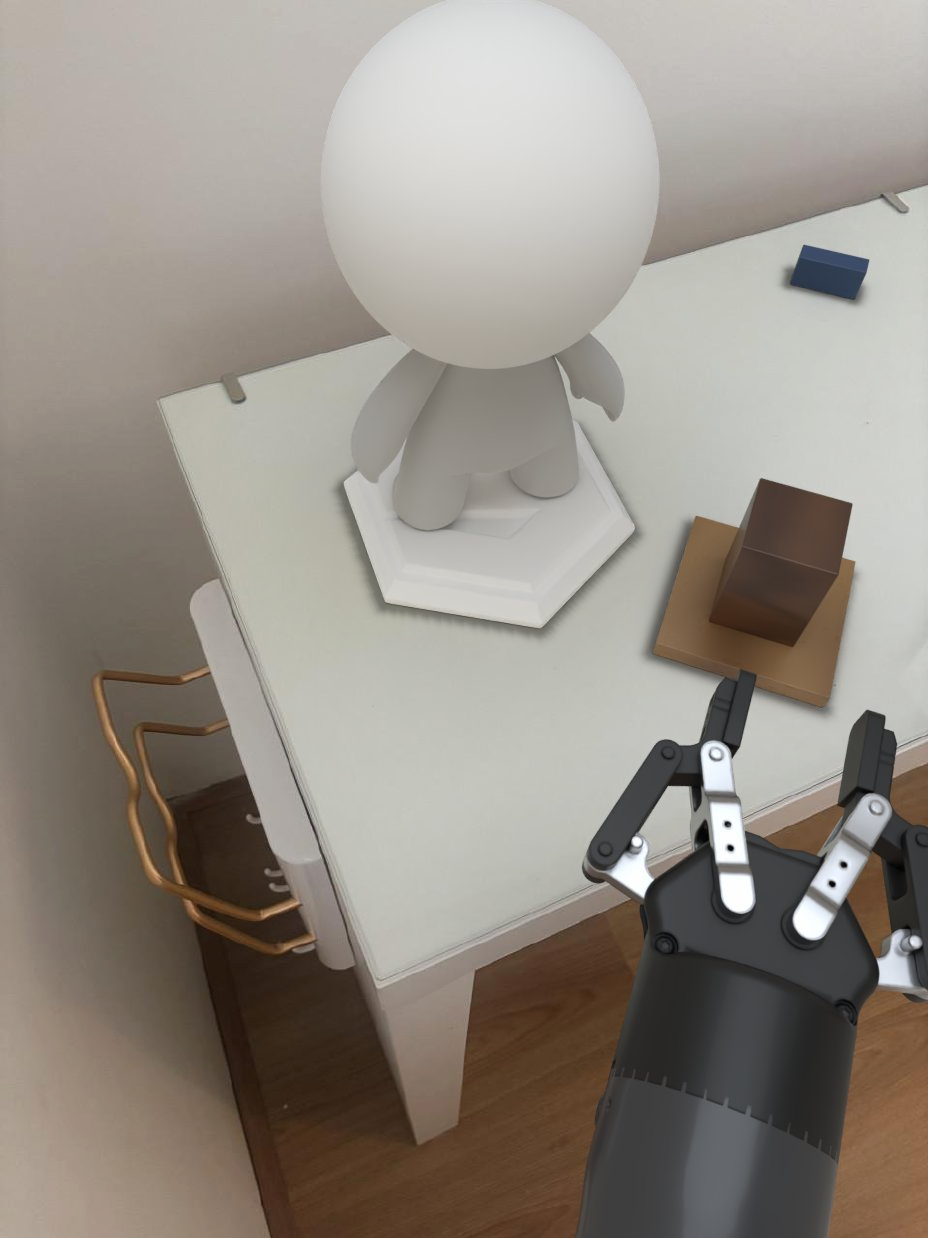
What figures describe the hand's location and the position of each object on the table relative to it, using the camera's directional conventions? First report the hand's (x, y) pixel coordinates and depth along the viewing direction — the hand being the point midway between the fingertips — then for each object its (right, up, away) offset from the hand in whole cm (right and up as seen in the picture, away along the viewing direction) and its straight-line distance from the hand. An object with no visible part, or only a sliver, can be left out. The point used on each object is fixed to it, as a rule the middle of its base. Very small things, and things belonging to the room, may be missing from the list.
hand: (804, 700), depth 39 cm
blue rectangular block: (+19, +35, +47) cm, 61 cm away
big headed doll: (-13, +12, +33) cm, 37 cm away
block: (+7, +4, +28) cm, 29 cm away
